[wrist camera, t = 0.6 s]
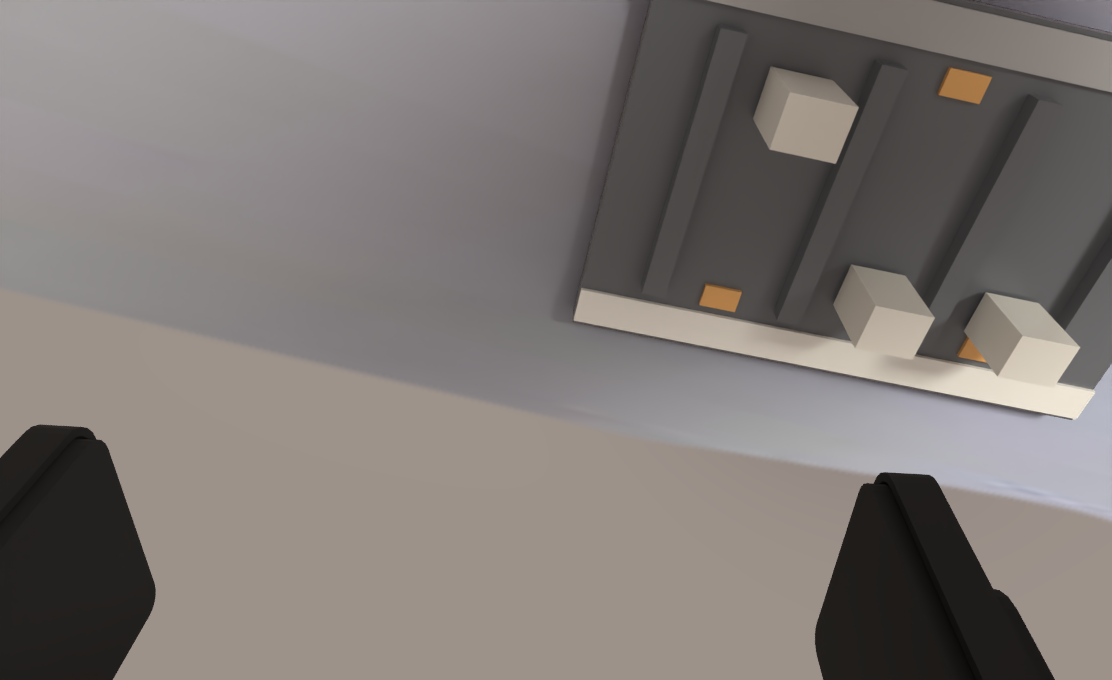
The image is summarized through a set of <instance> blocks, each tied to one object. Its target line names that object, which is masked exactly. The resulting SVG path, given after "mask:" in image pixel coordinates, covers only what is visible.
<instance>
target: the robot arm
mask: <svg viewBox="0 0 1112 680" xmlns="http://www.w3.org/2000/svg"><path fill="white" fill-rule="evenodd" d="M154 601H155V584H154V581H153V578H152V575H151V572H150V569H149V566H148V563H147V560H146V557H145V554H144V552H143V549H142V546H141V543H140V540H139V537H138V534H137V531H136V528H135V526H134V523H133V520H132V517H131V514H130V511H129V508H128V505H127V502H126V499H125V496H124V494H123V491H122V488H121V485H120V482H119V479H118V476H117V473H116V470H115V467H114V464H113V462H112V459H111V456H110V453H109V450H108V448H107V446H106V444H105V443H104V442H103V441H102V440H96V438H95V436H94V434H93V432H92V431H90V430H89V429H88V428H84V427H71V426H52V425H37V426H33V427H31V428H30V429H28V430H27V431H26V432H25V433H24V434H23V435H22V436H21V437H20V438H19V439H18V440H17V441H16V442H15V443H14V444H13V445H12V446H11V447H10V448H9V449H8V450H7V451H6V452H5V454H4V455H3V456H2V457H1V458H0V680H113V678H114V676H115V675H116V673H117V671H118V669H119V668H120V666H121V664H122V662H123V661H124V659H125V657H126V655H127V654H128V652H129V650H130V649H131V647H132V645H133V643H134V642H135V640H136V638H137V636H138V634H139V633H140V631H141V629H142V628H143V626H144V624H145V622H146V621H147V619H148V617H149V615H150V613H151V611H152V608H153V605H154ZM815 645H816V652H817V657H818V661H819V665H820V669H821V673H822V676H823V680H1055V679H1054V677H1053V675H1052V673H1051V672H1050V670H1049V668H1048V666H1047V664H1046V662H1045V660H1044V659H1043V657H1042V655H1041V653H1040V651H1039V650H1038V648H1037V646H1036V644H1035V642H1034V640H1033V638H1032V637H1031V634H1030V633H1029V631H1028V629H1027V628H1026V625H1025V623H1024V622H1023V620H1022V618H1021V616H1020V614H1019V612H1018V610H1017V609H1016V607H1015V606H1014V604H1013V603H1012V602H1011V600H1010V599H1009V597H1008V596H1006V595H1005V594H1004V593H1002V592H1001V591H1000V590H996V589H993V588H992V586H991V584H990V582H989V580H988V578H987V577H986V575H985V573H984V571H983V569H982V567H981V565H980V563H979V561H978V559H977V557H976V555H975V553H974V552H973V550H972V548H971V546H970V544H969V542H968V540H967V538H966V536H965V534H964V532H963V530H962V529H961V527H960V525H959V523H958V521H957V519H956V517H955V515H954V513H953V511H952V509H951V508H950V505H949V504H948V502H947V500H946V498H945V496H944V494H943V492H942V490H941V488H940V486H939V484H938V483H937V482H936V480H935V479H934V478H933V477H932V476H930V475H922V474H904V473H886V472H884V473H880V474H879V475H878V476H877V477H876V480H875V482H874V484H869V483H867V484H863V486H861V489H860V491H859V493H858V497H857V499H856V503H855V506H854V509H853V512H852V515H851V518H850V522H849V524H848V528H847V531H846V534H845V537H844V540H843V544H842V546H841V550H840V553H839V556H838V559H837V562H836V565H835V568H834V571H833V575H832V578H831V581H830V584H829V587H828V590H827V593H826V596H825V600H824V603H823V606H822V609H821V612H820V615H819V618H818V622H817V625H816V631H815Z"/></svg>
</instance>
